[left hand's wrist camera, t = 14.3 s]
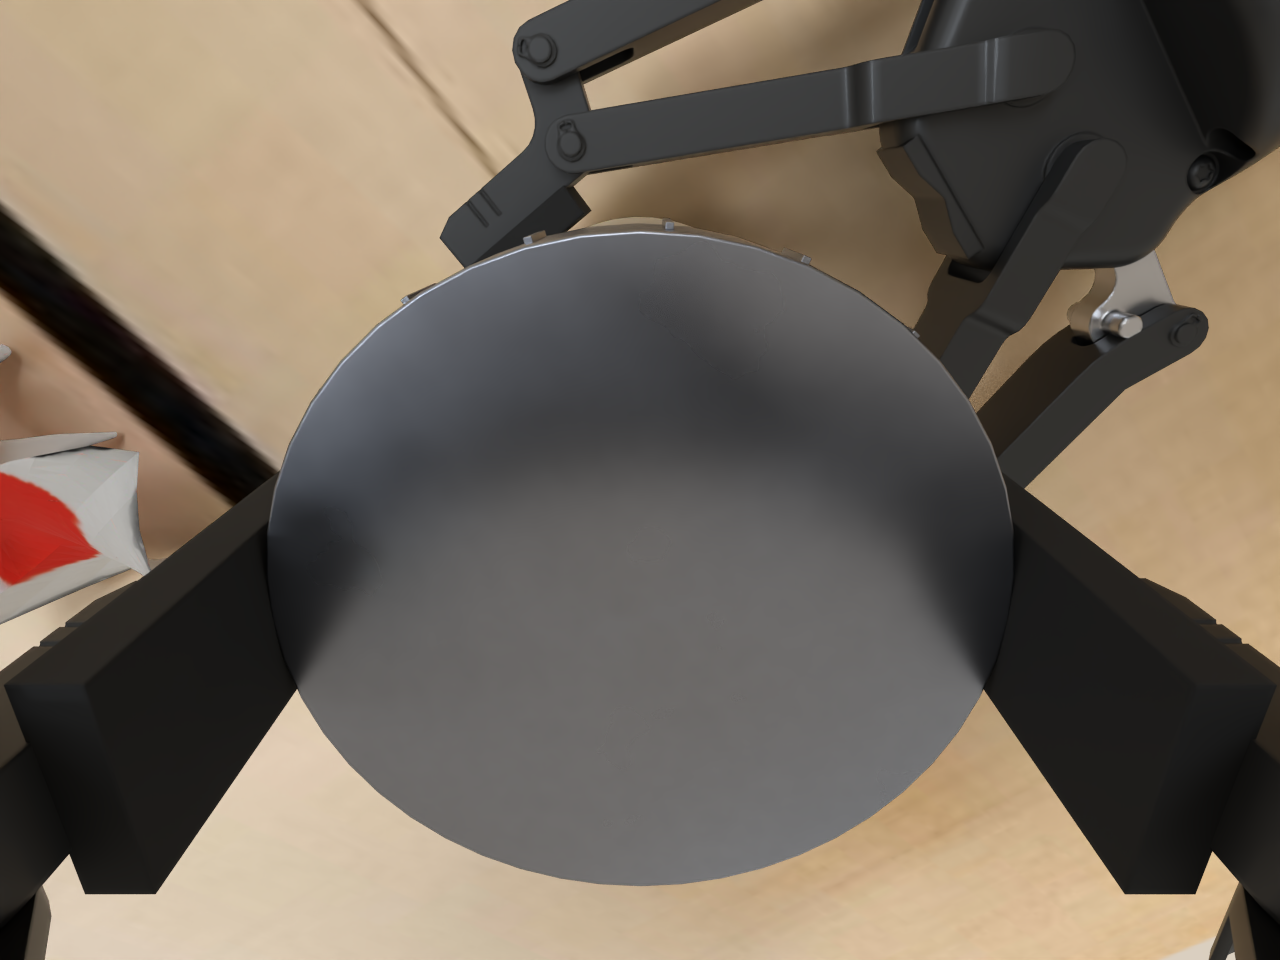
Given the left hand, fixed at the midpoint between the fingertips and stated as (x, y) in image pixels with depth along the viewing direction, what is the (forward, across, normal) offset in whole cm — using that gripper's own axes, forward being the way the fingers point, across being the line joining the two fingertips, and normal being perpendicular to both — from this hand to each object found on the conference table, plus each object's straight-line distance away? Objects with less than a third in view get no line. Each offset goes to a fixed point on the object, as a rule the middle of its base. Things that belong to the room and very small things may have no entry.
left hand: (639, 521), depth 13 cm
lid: (-3, 0, 0) cm, 3 cm away
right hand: (+7, -3, -3) cm, 8 cm away
